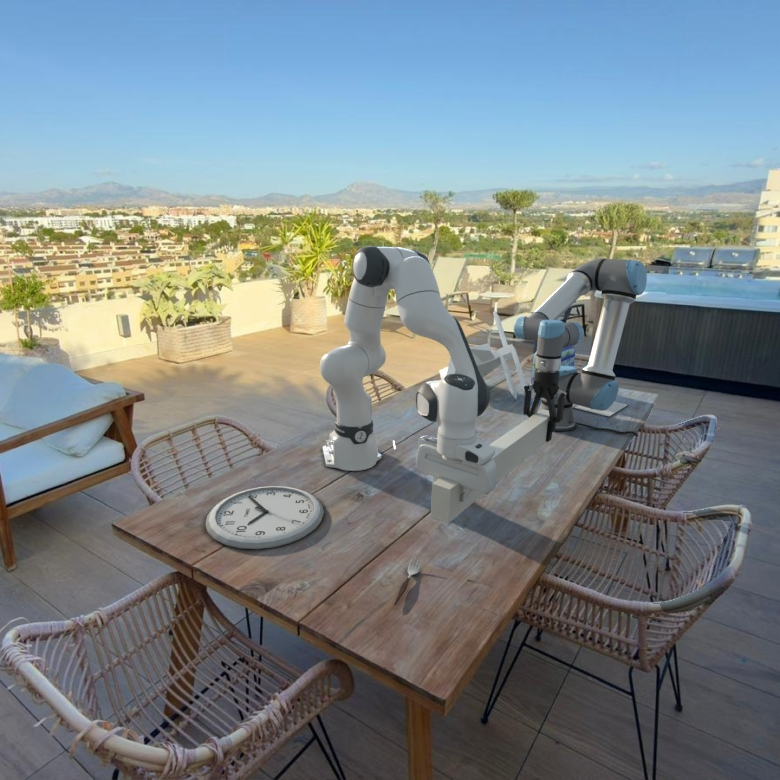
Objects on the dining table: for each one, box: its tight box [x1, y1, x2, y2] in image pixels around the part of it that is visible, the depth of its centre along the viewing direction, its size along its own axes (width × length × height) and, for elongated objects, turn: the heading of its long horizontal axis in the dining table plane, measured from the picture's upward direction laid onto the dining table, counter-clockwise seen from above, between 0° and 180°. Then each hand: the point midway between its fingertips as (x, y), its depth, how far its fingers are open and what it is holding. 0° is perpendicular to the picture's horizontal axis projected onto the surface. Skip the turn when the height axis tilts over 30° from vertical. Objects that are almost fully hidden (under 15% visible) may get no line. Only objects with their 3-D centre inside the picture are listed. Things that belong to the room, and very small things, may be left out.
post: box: [430, 409, 555, 524], centre depth 148 cm, size 69×5×9 cm, turn 143°
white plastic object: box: [438, 310, 528, 400], centre depth 245 cm, size 37×45×31 cm
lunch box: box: [530, 346, 576, 385], centre depth 248 cm, size 26×11×21 cm, turn 134°
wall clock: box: [205, 485, 325, 550], centre depth 137 cm, size 30×2×30 cm
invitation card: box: [573, 401, 629, 418], centre depth 226 cm, size 21×1×15 cm
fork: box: [393, 553, 424, 606], centre depth 112 cm, size 3×16×2 cm, turn 160°
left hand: (452, 497), depth 126 cm, fingers closed on post, 5 cm apart
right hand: (540, 438), depth 171 cm, fingers closed on post, 5 cm apart
